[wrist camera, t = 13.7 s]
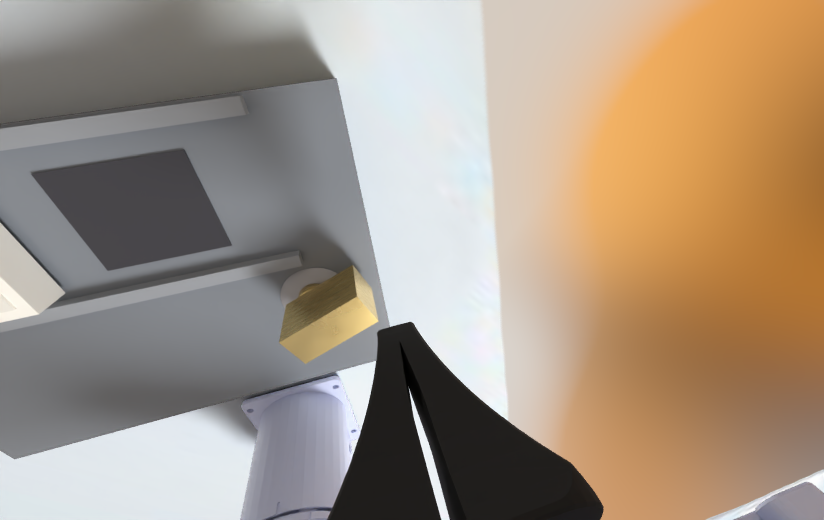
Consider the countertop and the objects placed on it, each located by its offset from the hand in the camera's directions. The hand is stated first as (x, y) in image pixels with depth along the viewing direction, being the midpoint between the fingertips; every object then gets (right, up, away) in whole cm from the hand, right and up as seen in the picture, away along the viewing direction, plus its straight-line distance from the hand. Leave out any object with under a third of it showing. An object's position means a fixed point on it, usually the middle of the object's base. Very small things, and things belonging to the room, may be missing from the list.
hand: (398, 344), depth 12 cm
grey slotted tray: (-14, +2, +7) cm, 16 cm away
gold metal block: (-4, +2, +6) cm, 8 cm away
